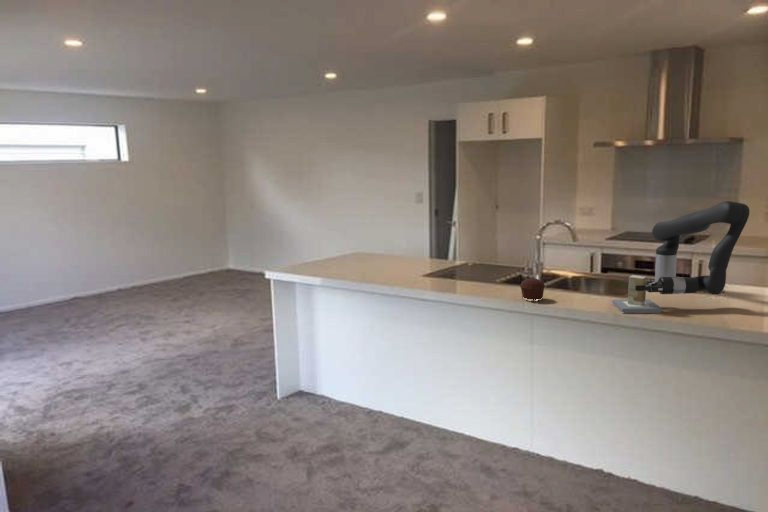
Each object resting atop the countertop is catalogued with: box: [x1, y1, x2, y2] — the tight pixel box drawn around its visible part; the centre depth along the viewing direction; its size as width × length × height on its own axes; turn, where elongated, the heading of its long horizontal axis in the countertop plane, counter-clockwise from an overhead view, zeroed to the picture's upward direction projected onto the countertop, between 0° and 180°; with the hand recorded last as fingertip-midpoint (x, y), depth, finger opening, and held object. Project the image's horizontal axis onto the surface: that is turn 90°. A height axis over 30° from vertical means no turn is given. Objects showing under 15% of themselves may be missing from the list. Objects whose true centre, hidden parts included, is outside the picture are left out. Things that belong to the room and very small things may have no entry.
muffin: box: [519, 277, 546, 300], centre depth 276 cm, size 12×11×10 cm
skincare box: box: [627, 274, 648, 306], centre depth 253 cm, size 6×4×12 cm
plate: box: [611, 298, 663, 314], centre depth 254 cm, size 16×16×2 cm
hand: (632, 286), depth 253 cm, fingers open, 8 cm apart
